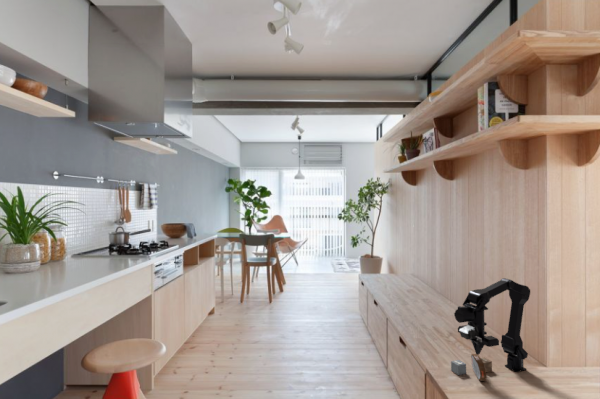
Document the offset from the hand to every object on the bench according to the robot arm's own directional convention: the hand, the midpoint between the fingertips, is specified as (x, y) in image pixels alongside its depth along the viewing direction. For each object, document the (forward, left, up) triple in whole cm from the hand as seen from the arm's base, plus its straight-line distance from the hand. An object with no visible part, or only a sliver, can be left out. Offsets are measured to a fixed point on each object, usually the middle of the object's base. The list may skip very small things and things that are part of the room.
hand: (477, 354), depth 163 cm
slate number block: (+5, -6, -10) cm, 13 cm away
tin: (0, 0, -10) cm, 10 cm away
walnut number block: (-8, -4, -10) cm, 13 cm away
